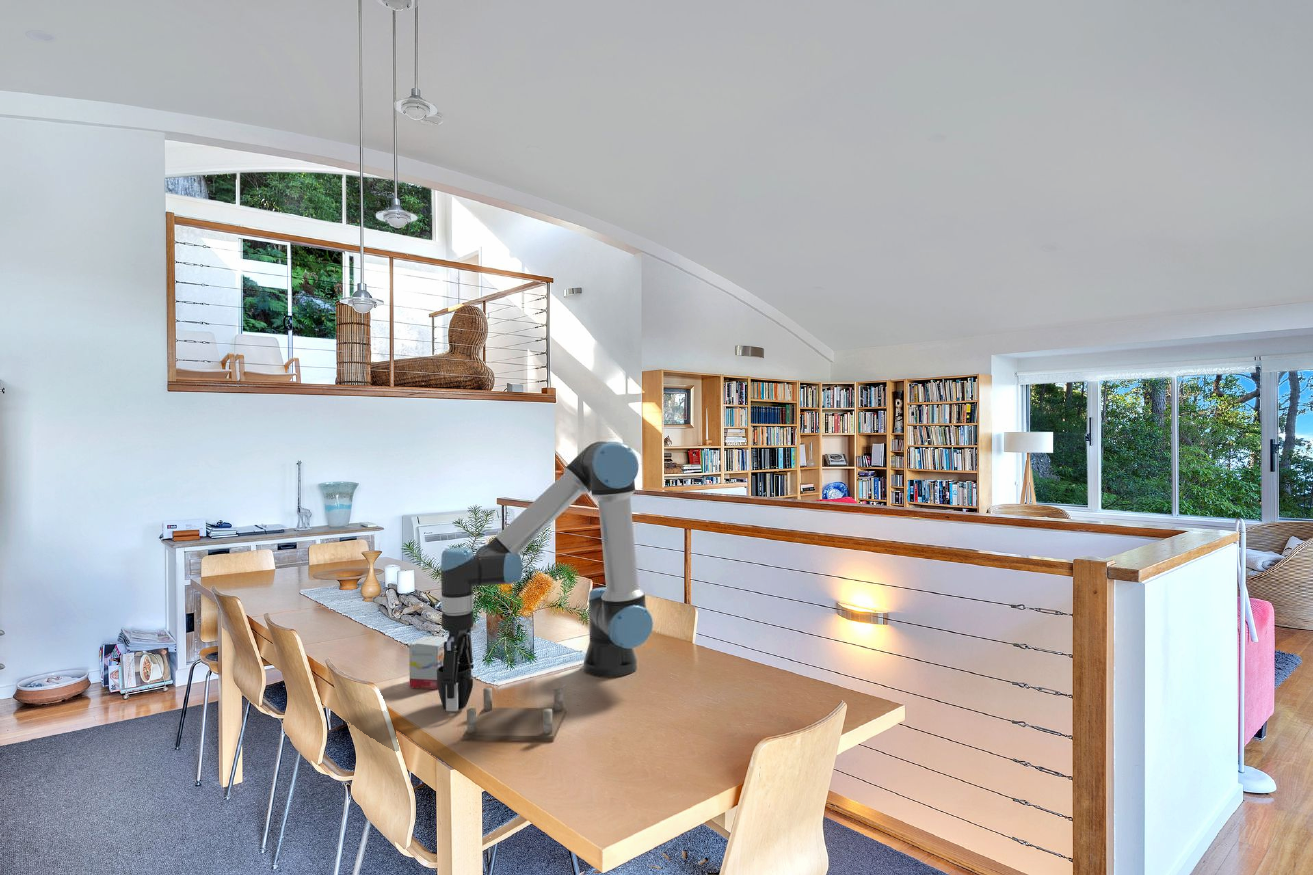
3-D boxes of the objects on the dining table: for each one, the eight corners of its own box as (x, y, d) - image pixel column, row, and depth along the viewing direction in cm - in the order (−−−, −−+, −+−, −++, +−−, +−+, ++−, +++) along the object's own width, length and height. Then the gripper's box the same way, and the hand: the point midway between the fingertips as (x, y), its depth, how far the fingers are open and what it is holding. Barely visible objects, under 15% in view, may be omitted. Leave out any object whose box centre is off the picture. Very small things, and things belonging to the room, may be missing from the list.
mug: (454, 720, 173) (453, 679, 173) (431, 706, 182) (430, 667, 182) (485, 710, 179) (485, 671, 178) (462, 697, 187) (461, 660, 187)
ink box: (438, 689, 193) (437, 645, 193) (408, 688, 195) (407, 643, 195) (453, 679, 202) (453, 635, 202) (424, 677, 204) (424, 634, 203)
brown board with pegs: (566, 713, 176) (565, 687, 176) (553, 741, 161) (553, 712, 160) (483, 712, 177) (483, 686, 177) (462, 740, 161) (462, 712, 161)
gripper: (456, 600, 192) (457, 686, 192) (426, 623, 170) (427, 720, 170) (485, 601, 191) (486, 687, 192) (458, 623, 170) (459, 720, 170)
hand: (458, 702), depth 181 cm, fingers closed on mug, 9 cm apart
